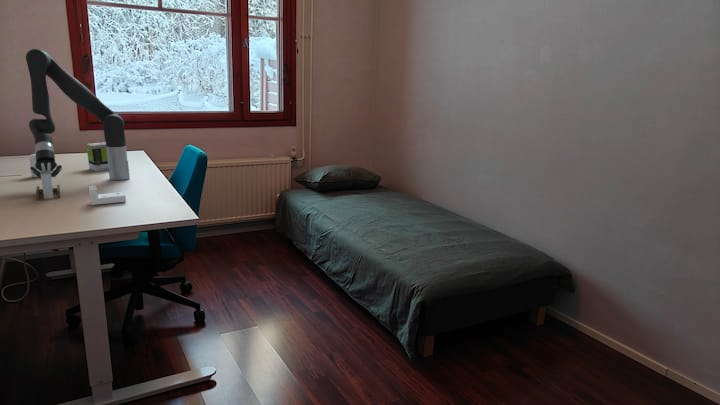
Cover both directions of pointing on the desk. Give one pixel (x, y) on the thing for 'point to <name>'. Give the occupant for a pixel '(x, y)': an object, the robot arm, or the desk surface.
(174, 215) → the desk surface
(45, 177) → the grey rectangular block
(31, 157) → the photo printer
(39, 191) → the walnut box
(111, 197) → the bracket
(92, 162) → the tea box
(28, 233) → the desk surface
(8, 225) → the desk surface
